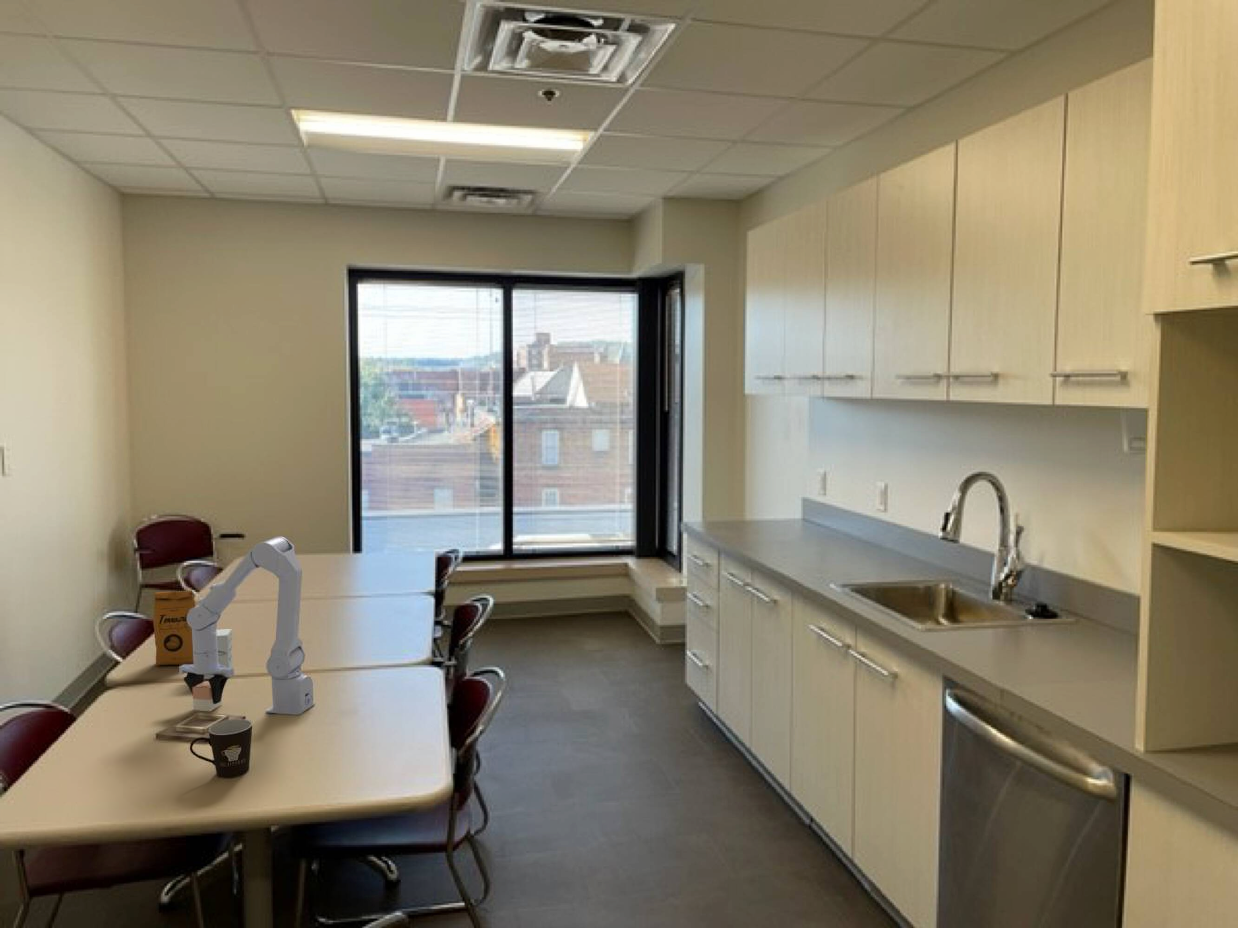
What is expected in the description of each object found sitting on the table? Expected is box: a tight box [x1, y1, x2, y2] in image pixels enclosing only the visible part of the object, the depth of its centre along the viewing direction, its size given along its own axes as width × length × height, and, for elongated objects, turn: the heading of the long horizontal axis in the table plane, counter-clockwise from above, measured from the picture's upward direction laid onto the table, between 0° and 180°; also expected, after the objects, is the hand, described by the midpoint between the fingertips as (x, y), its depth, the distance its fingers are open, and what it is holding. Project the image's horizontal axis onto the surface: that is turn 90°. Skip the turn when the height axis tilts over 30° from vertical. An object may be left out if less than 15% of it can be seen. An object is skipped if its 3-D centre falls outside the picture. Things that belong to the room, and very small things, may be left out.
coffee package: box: [152, 590, 197, 666], centre depth 261 cm, size 10×12×22 cm
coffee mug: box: [189, 719, 253, 779], centre depth 187 cm, size 12×9×10 cm
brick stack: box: [192, 680, 223, 712], centre depth 225 cm, size 5×5×6 cm
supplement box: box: [203, 628, 234, 681], centre depth 250 cm, size 7×7×13 cm
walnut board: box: [155, 711, 247, 743], centre depth 211 cm, size 14×14×2 cm
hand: (207, 701), depth 225 cm, fingers closed on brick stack, 5 cm apart
